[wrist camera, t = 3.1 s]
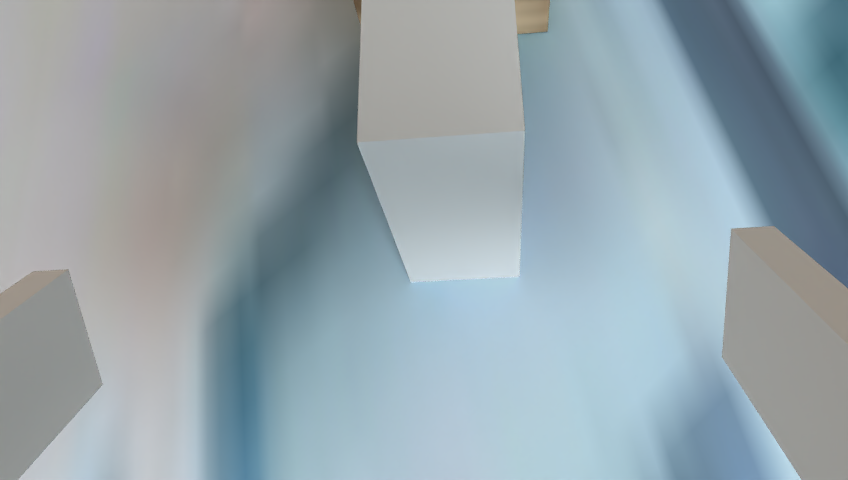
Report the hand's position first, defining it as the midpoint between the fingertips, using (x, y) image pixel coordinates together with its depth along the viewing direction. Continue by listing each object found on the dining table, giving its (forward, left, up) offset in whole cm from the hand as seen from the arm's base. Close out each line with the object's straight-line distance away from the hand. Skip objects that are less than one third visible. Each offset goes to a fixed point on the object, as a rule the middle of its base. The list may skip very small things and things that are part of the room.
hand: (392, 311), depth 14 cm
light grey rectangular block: (-1, -14, -11) cm, 17 cm away
